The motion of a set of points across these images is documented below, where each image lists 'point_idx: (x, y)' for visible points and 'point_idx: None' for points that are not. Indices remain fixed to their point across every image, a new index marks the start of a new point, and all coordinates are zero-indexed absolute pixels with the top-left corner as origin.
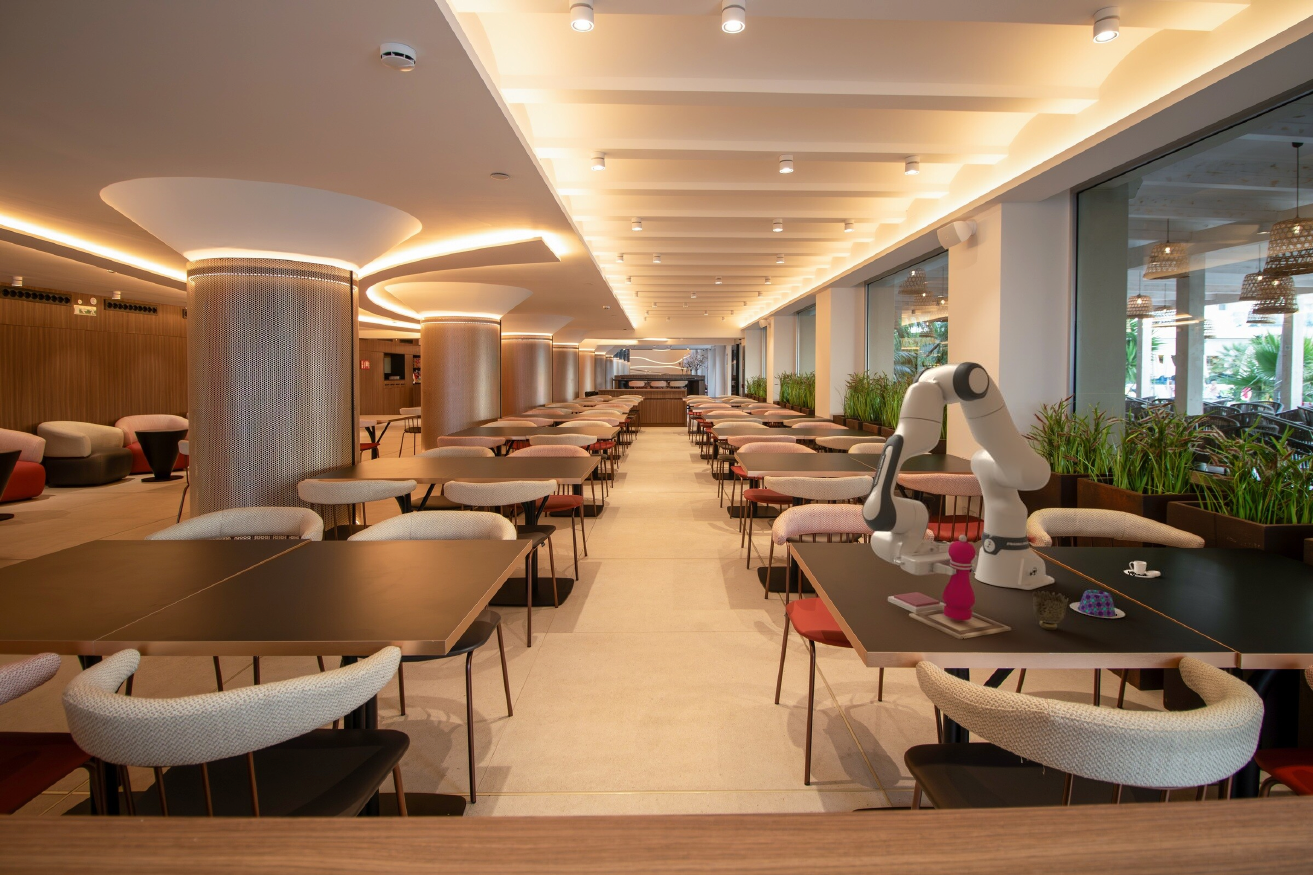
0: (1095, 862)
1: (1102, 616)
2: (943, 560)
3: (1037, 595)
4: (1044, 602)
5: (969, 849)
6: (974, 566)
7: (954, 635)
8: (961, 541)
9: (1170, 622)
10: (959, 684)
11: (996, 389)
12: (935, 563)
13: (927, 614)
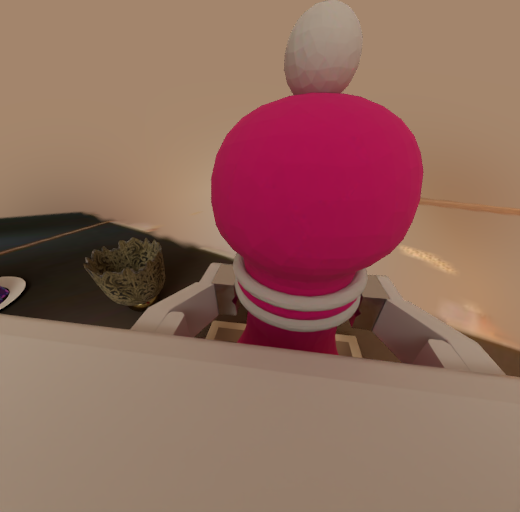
0: (433, 199)
1: (7, 292)
2: (381, 361)
3: (102, 278)
4: (161, 255)
5: (493, 207)
6: (224, 264)
7: (359, 351)
8: (341, 91)
9: (8, 254)
10: (438, 264)
11: None
12: (495, 369)
13: None
